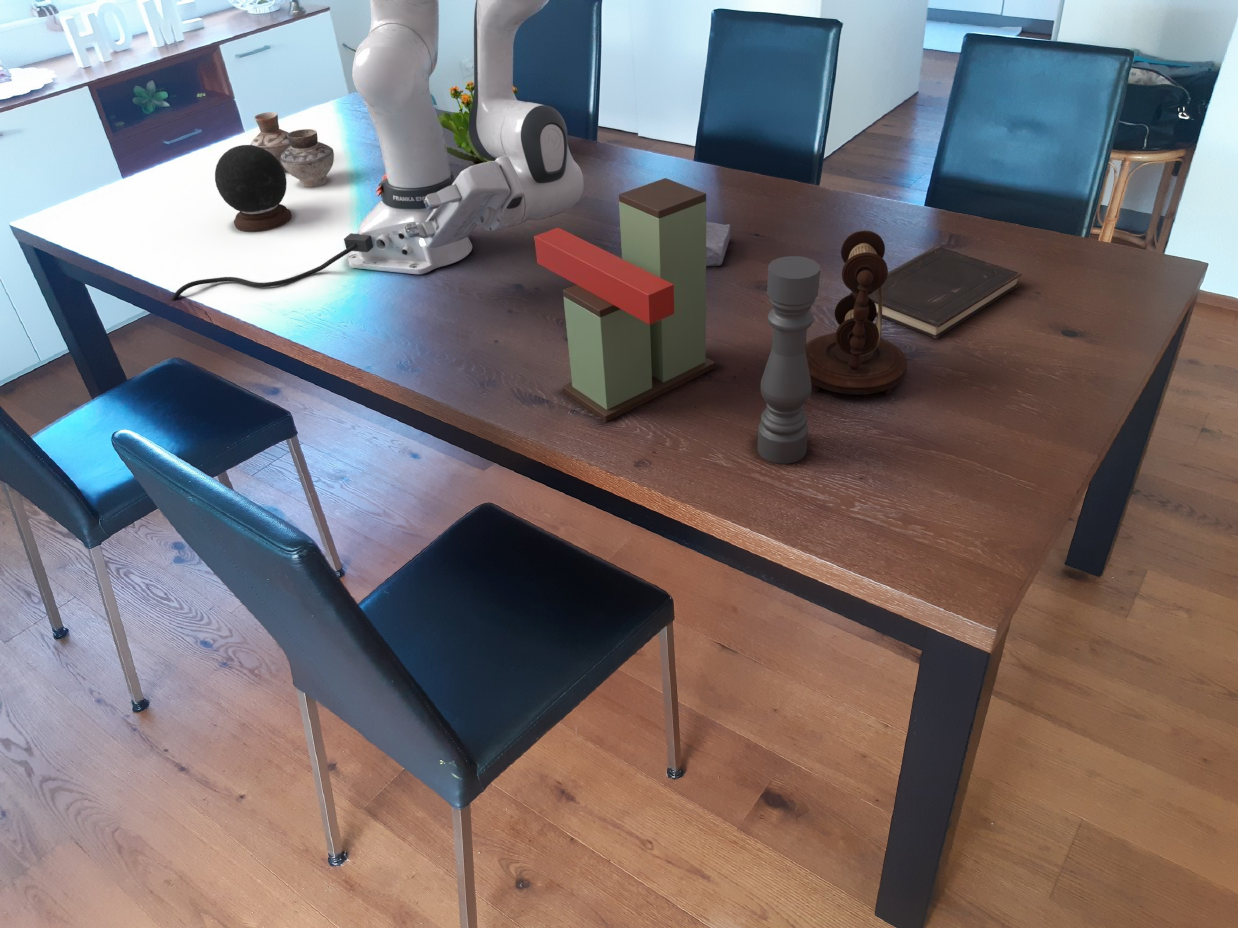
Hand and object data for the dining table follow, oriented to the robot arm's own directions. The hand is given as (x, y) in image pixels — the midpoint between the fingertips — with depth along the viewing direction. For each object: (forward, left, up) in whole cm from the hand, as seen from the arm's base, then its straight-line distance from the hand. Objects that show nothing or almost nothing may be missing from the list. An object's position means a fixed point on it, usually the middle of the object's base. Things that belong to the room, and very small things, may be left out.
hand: (416, 217), depth 136 cm
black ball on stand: (-48, +42, -18) cm, 66 cm away
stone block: (+41, +27, -18) cm, 52 cm away
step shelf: (+34, -16, -18) cm, 42 cm away
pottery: (-51, +67, -18) cm, 86 cm away
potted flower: (-7, +72, -18) cm, 74 cm away
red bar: (+30, -19, -2) cm, 35 cm away
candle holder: (+54, -31, -18) cm, 65 cm away
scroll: (+64, -13, -18) cm, 68 cm away
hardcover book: (+79, +11, -18) cm, 82 cm away
